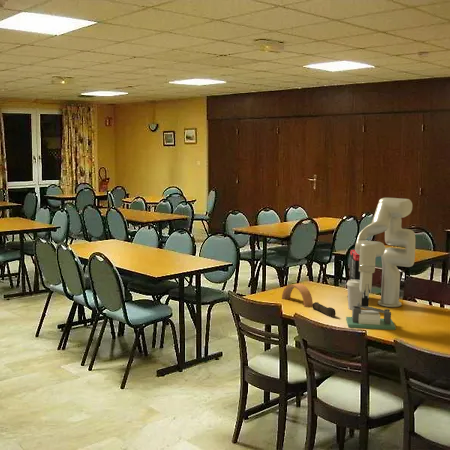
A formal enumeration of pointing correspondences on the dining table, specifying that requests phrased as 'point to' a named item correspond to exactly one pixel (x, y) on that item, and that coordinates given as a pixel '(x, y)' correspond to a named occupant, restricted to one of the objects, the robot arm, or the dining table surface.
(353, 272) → the graphics card box
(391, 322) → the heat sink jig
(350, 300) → the coffee cup
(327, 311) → the hand tool
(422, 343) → the dining table surface
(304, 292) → the arch
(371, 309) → the steel strap
